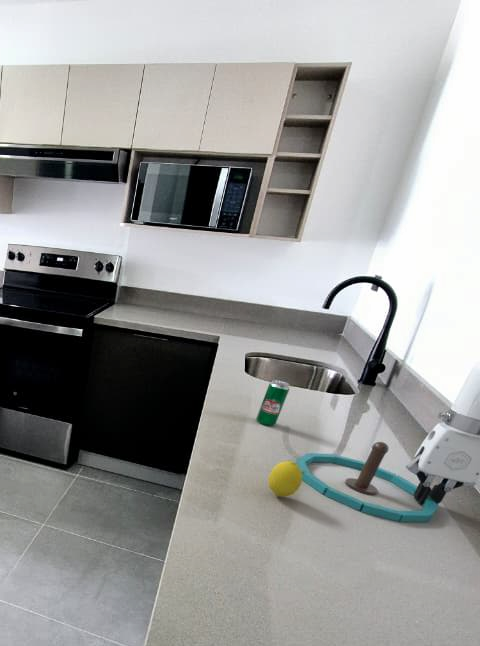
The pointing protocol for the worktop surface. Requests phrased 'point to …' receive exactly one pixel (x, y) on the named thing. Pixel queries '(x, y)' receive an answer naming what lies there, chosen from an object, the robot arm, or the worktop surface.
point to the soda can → (273, 402)
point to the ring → (357, 504)
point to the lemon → (285, 479)
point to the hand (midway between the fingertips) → (424, 502)
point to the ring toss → (369, 470)
